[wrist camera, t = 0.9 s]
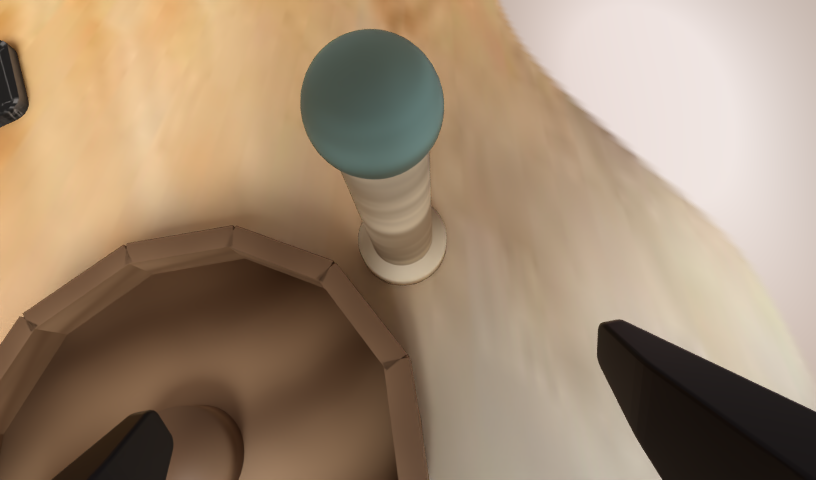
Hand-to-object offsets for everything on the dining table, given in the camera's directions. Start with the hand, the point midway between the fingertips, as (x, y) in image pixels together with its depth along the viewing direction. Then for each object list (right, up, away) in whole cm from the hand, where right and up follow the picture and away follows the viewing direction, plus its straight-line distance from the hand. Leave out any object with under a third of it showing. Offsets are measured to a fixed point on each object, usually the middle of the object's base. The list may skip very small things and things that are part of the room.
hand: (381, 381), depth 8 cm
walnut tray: (-10, -8, +13) cm, 18 cm away
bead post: (0, +3, +16) cm, 16 cm away
